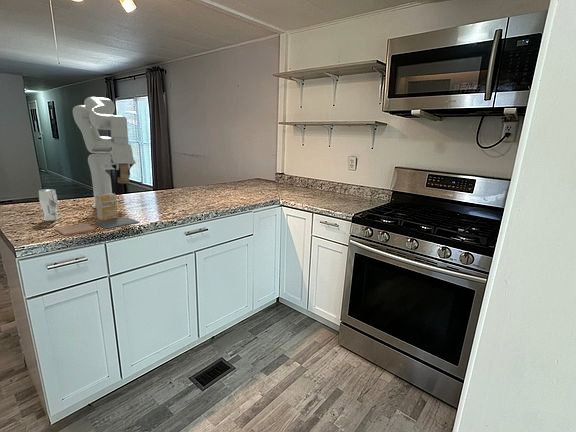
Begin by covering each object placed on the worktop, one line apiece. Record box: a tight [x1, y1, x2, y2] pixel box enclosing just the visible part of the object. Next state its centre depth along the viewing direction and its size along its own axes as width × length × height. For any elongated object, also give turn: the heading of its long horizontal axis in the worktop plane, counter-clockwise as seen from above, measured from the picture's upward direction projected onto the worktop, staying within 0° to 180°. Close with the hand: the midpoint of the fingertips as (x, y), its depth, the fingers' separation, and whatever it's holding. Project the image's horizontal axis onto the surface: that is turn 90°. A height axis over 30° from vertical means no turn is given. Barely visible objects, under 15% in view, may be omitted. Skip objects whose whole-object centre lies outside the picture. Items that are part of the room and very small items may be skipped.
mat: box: [94, 216, 140, 230], centre depth 155 cm, size 13×16×1 cm
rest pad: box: [55, 223, 96, 237], centre depth 142 cm, size 12×12×1 cm
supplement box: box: [95, 192, 119, 222], centre depth 160 cm, size 8×5×13 cm, turn 151°
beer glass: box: [38, 188, 60, 222], centre depth 155 cm, size 7×7×15 cm
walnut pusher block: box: [116, 164, 130, 185], centre depth 162 cm, size 4×4×10 cm
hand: (123, 176), depth 162 cm, fingers closed on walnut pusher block, 4 cm apart
